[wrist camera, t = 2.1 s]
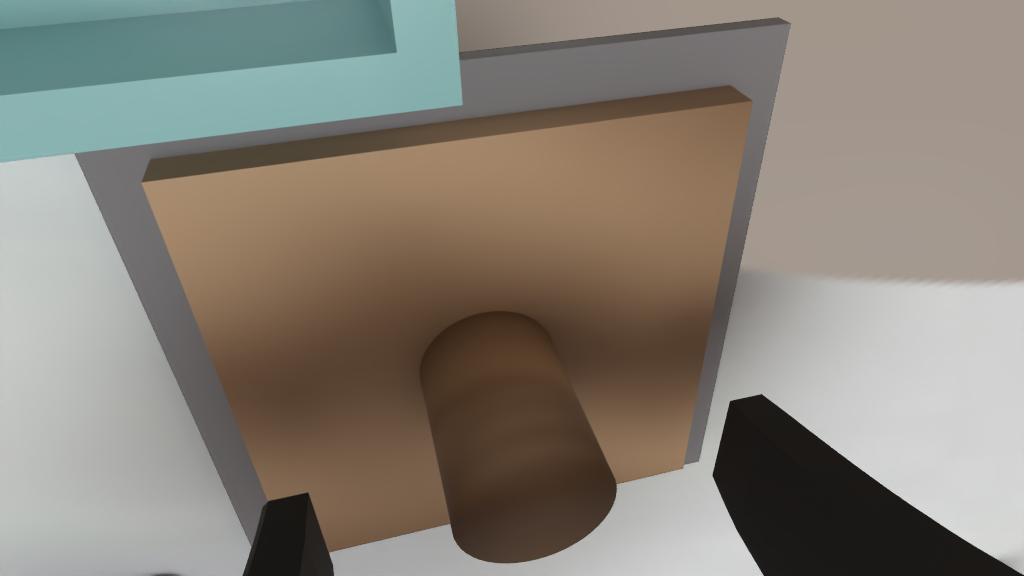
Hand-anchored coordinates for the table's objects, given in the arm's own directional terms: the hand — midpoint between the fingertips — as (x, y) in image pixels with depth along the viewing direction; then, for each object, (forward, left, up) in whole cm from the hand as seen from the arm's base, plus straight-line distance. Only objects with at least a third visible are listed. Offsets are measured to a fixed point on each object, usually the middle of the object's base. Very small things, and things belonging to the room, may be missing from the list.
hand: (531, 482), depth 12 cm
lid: (0, 0, -4) cm, 4 cm away
